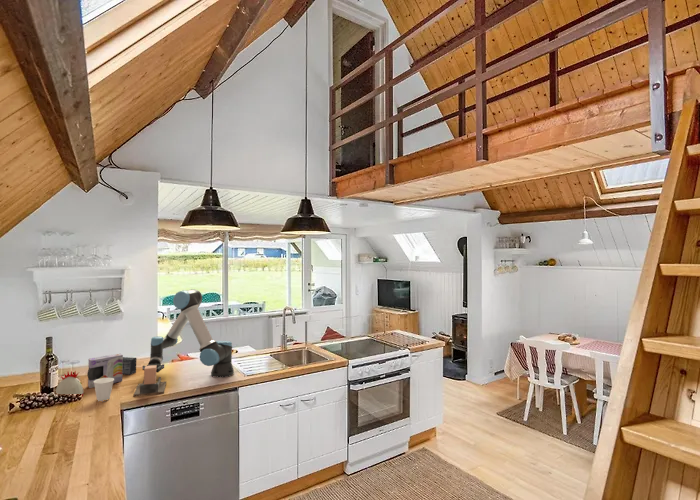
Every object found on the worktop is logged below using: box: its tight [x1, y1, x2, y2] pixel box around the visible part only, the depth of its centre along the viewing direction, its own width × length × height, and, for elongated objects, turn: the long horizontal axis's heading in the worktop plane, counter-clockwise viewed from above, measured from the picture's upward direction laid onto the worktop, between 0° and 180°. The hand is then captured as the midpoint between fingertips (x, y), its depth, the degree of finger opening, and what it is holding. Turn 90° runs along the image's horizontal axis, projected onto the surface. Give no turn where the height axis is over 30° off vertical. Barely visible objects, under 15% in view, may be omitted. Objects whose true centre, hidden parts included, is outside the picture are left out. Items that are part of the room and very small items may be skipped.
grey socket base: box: [132, 376, 167, 398], centre depth 238 cm, size 16×20×6 cm
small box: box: [122, 356, 138, 376], centre depth 268 cm, size 11×6×10 cm, turn 84°
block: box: [143, 365, 157, 384], centre depth 233 cm, size 6×6×14 cm
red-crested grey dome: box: [55, 370, 84, 397], centre depth 223 cm, size 14×14×15 cm
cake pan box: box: [86, 353, 124, 389], centre depth 245 cm, size 19×5×18 cm, turn 137°
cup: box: [94, 378, 114, 402], centre depth 220 cm, size 10×10×11 cm
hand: (150, 374), depth 236 cm, fingers closed
